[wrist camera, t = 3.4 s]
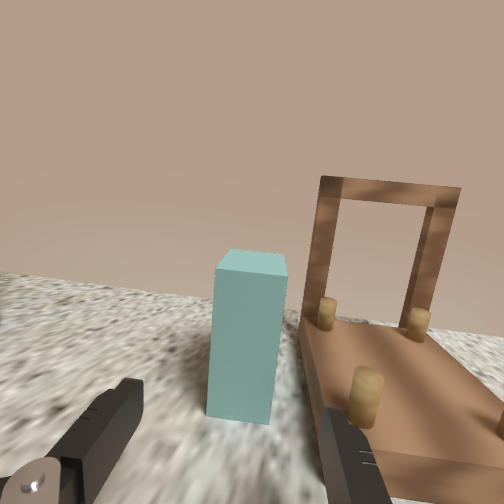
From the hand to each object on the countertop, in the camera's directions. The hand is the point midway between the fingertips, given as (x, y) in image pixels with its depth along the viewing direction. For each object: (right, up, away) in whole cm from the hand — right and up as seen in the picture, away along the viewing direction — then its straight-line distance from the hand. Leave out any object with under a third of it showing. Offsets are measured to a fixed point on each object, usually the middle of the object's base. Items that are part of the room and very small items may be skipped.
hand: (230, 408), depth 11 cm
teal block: (0, -5, +10) cm, 11 cm away
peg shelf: (+12, -6, +10) cm, 17 cm away
